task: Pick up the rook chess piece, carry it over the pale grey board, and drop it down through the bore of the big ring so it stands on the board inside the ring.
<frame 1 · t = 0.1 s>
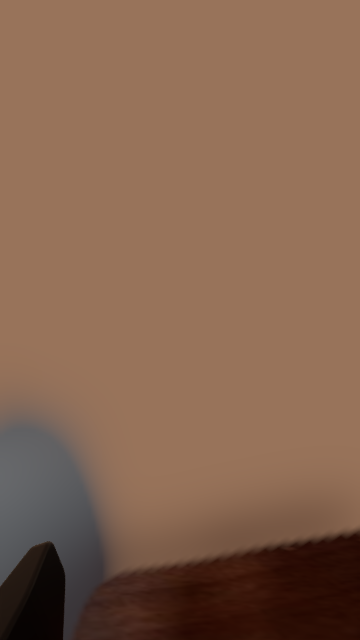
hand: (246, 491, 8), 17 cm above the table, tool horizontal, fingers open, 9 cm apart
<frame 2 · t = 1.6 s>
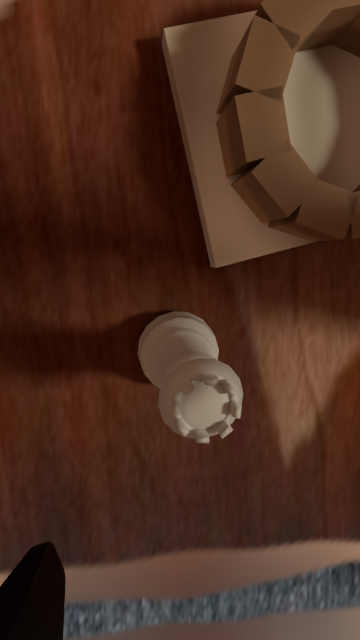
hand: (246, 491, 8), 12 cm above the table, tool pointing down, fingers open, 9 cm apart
rook chess piece: (175, 346, 20), on the table
ring board: (312, 134, 18), on the table
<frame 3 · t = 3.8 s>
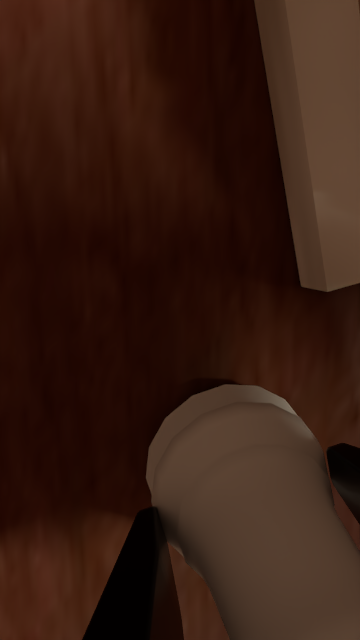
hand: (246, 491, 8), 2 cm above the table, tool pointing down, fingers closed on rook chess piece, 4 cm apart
rook chess piece: (222, 448, 10), on the table, touching gripper
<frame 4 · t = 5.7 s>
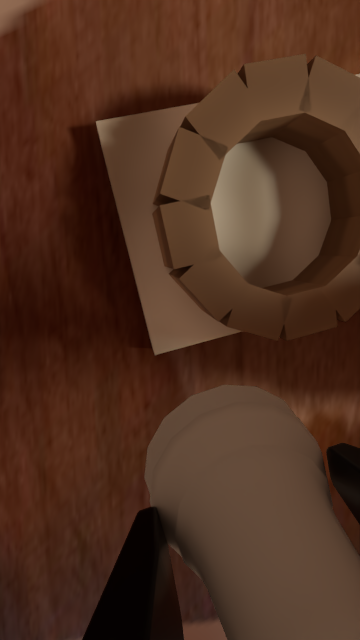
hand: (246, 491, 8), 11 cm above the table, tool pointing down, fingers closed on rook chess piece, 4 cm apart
rook chess piece: (221, 448, 10), point 9 cm above the table, touching gripper
ring board: (255, 218, 18), on the table
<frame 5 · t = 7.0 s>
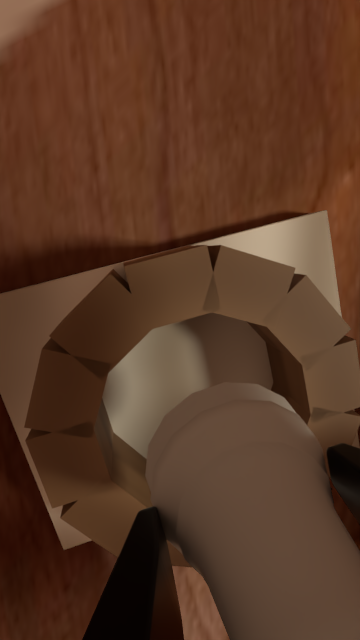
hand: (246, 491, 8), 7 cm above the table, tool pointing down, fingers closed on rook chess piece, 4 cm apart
rook chess piece: (222, 446, 10), point 6 cm above the table, touching gripper
ring board: (185, 376, 15), on the table
when the fingers open (7 cm above the table, at t = 7.7 s): rook chess piece drops 4 cm, resting on ring board.
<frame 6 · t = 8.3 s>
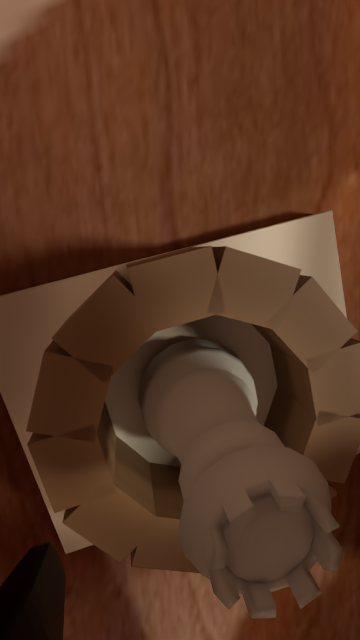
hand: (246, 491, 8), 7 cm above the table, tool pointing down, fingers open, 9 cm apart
rook chess piece: (192, 387, 14), point 1 cm above the table, touching ring board
ring board: (188, 378, 15), on the table
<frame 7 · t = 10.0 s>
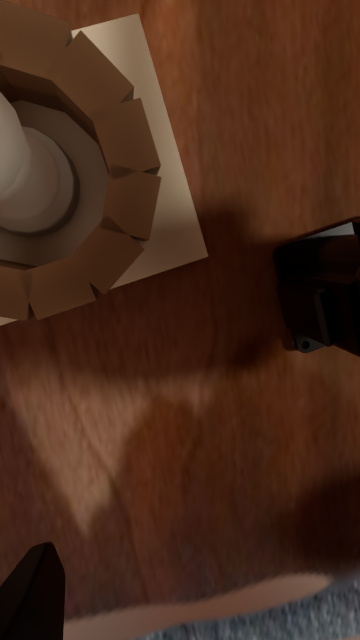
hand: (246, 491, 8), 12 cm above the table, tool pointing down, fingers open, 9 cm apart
rook chess piece: (32, 188, 16), point 1 cm above the table, touching ring board
ring board: (38, 192, 17), on the table
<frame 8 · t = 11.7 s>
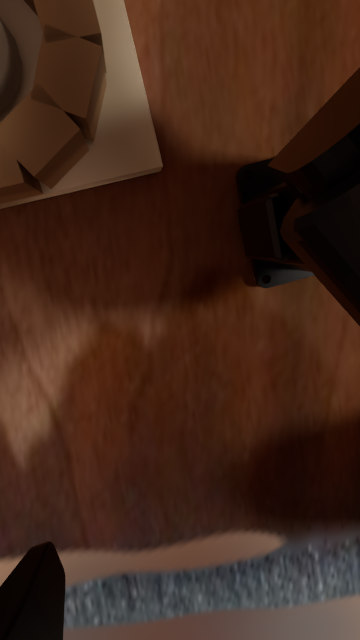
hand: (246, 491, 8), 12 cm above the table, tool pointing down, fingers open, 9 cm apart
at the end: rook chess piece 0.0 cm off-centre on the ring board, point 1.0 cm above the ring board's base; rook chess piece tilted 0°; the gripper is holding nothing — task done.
